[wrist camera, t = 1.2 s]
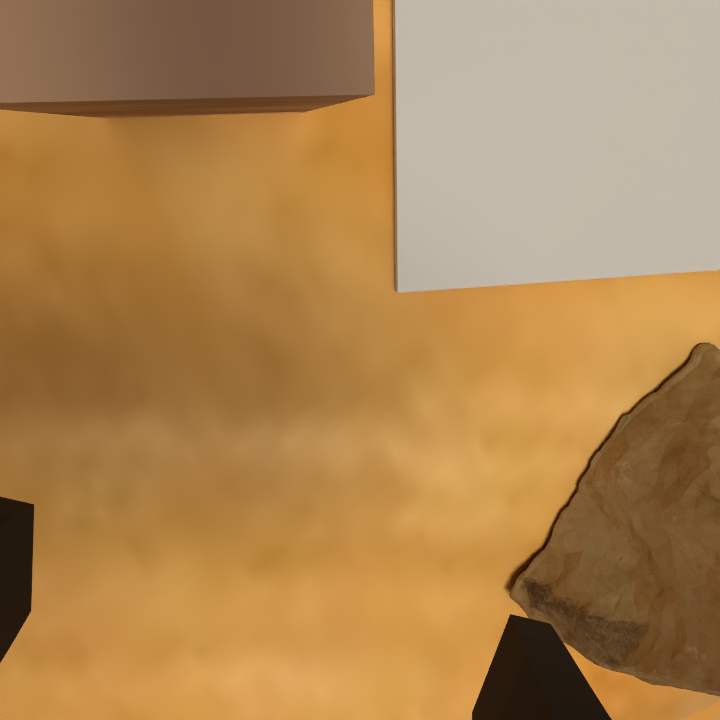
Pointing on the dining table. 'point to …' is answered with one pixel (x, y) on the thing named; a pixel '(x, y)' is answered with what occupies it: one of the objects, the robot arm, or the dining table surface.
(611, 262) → the board
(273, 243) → the dining table surface
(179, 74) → the walnut block
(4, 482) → the dining table surface
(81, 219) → the dining table surface
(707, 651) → the rock
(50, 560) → the dining table surface
